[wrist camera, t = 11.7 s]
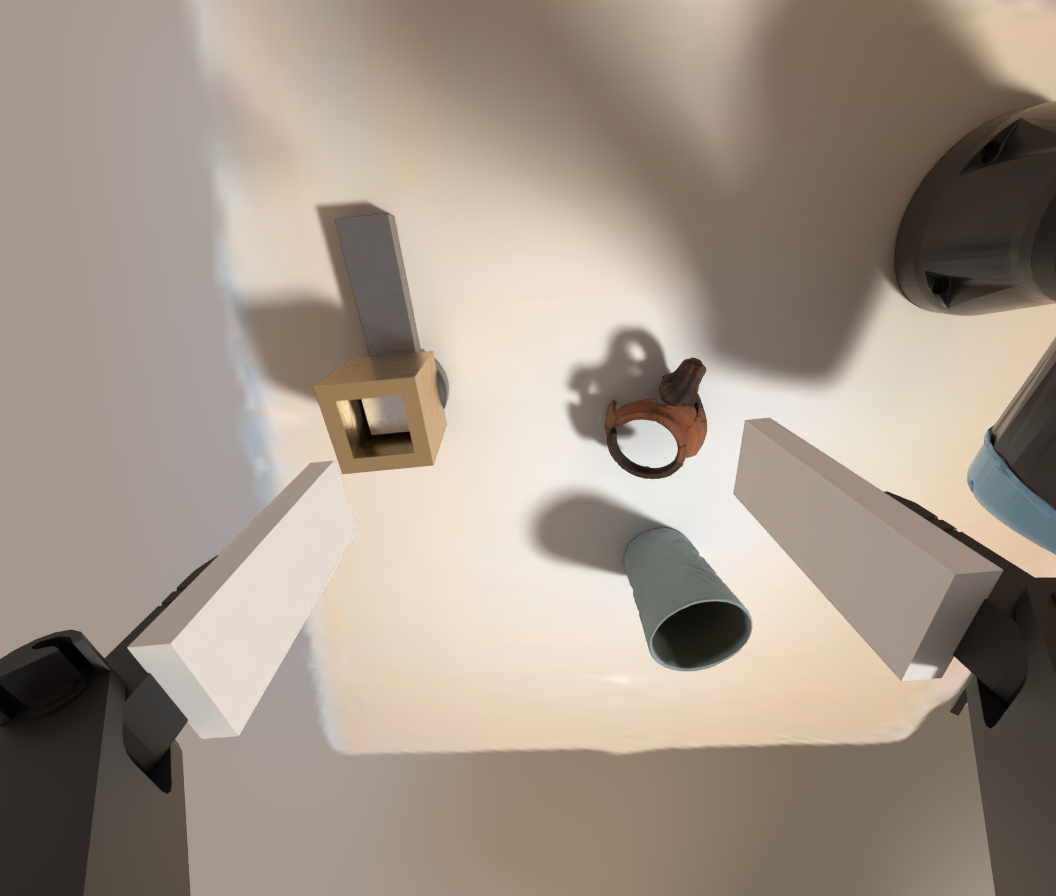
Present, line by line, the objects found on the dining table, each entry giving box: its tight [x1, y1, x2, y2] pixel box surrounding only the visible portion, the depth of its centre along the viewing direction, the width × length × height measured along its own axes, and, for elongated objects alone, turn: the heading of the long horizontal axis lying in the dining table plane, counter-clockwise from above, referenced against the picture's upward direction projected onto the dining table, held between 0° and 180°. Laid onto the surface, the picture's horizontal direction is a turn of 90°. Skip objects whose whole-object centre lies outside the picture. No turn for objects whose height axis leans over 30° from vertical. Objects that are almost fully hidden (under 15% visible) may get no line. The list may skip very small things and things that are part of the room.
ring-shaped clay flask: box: [605, 358, 707, 479], centre depth 38 cm, size 12×10×8 cm
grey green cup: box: [624, 528, 752, 671], centre depth 44 cm, size 10×10×12 cm
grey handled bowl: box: [334, 214, 449, 435], centre depth 32 cm, size 8×18×7 cm, turn 4°
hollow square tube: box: [313, 351, 447, 474], centre depth 32 cm, size 7×7×8 cm
